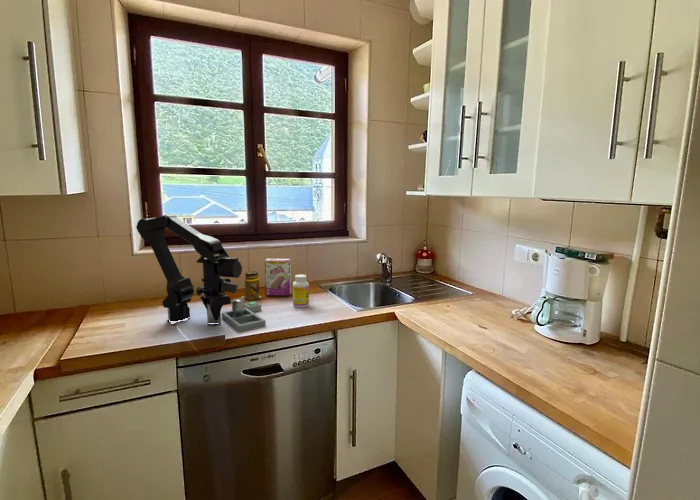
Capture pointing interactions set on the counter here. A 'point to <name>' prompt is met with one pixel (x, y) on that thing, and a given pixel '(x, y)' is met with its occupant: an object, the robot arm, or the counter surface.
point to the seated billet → (238, 307)
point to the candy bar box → (277, 277)
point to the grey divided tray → (244, 320)
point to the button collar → (253, 307)
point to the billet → (210, 317)
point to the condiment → (251, 286)
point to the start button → (252, 303)
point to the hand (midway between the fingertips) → (214, 318)
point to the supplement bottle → (300, 291)
